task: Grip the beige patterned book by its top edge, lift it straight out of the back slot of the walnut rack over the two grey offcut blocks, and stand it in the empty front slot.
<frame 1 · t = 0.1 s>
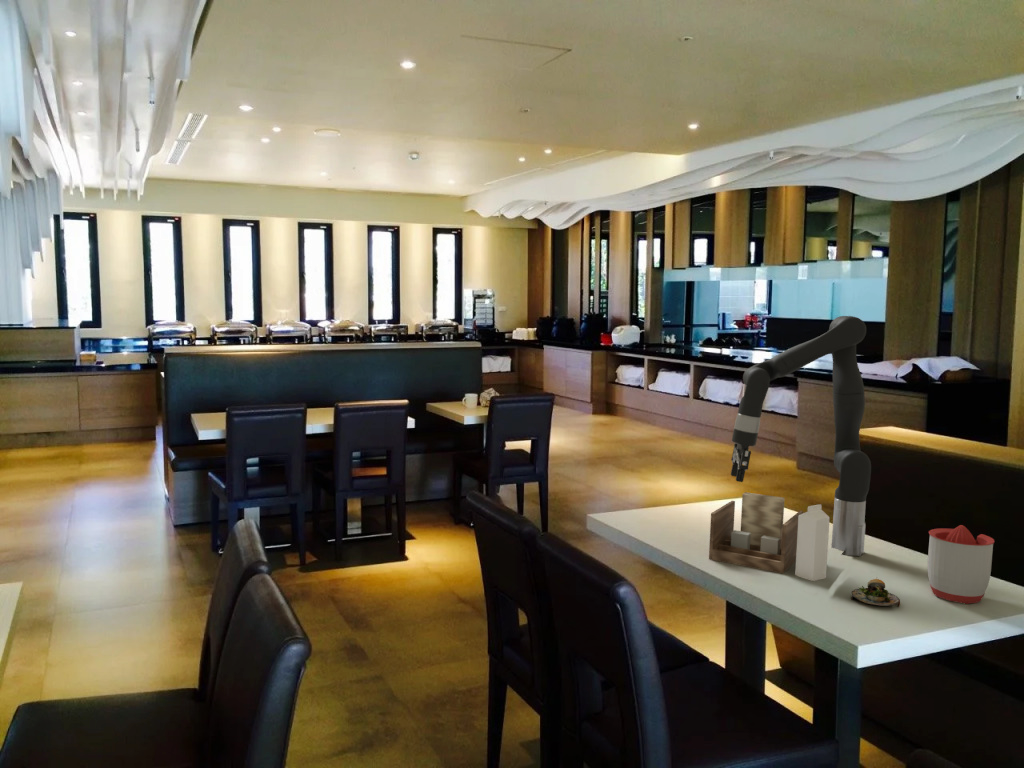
hand: (736, 478, 261), 22 cm above the table, tool pointing down, fingers open, 8 cm apart
citrus juicer: (957, 596, 222), on the table
milk: (810, 582, 231), on the table
offcut b: (739, 555, 249), point 1 cm above the table, touching rack
offcut a: (769, 560, 245), point 1 cm above the table, touching rack
rack: (754, 562, 248), on the table
burger: (875, 603, 217), on the table
beige patterned book: (760, 553, 252), point 1 cm above the table, touching rack
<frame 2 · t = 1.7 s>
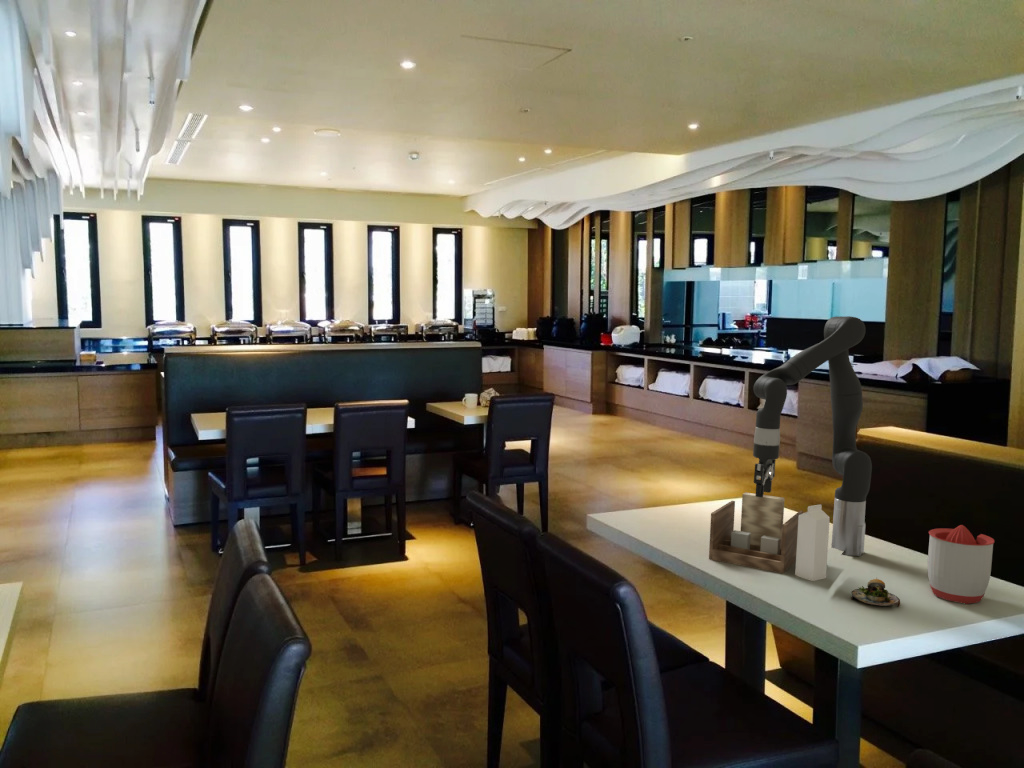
hand: (763, 494, 250), 20 cm above the table, tool pointing down, fingers open, 8 cm apart
nothing on the table moved.
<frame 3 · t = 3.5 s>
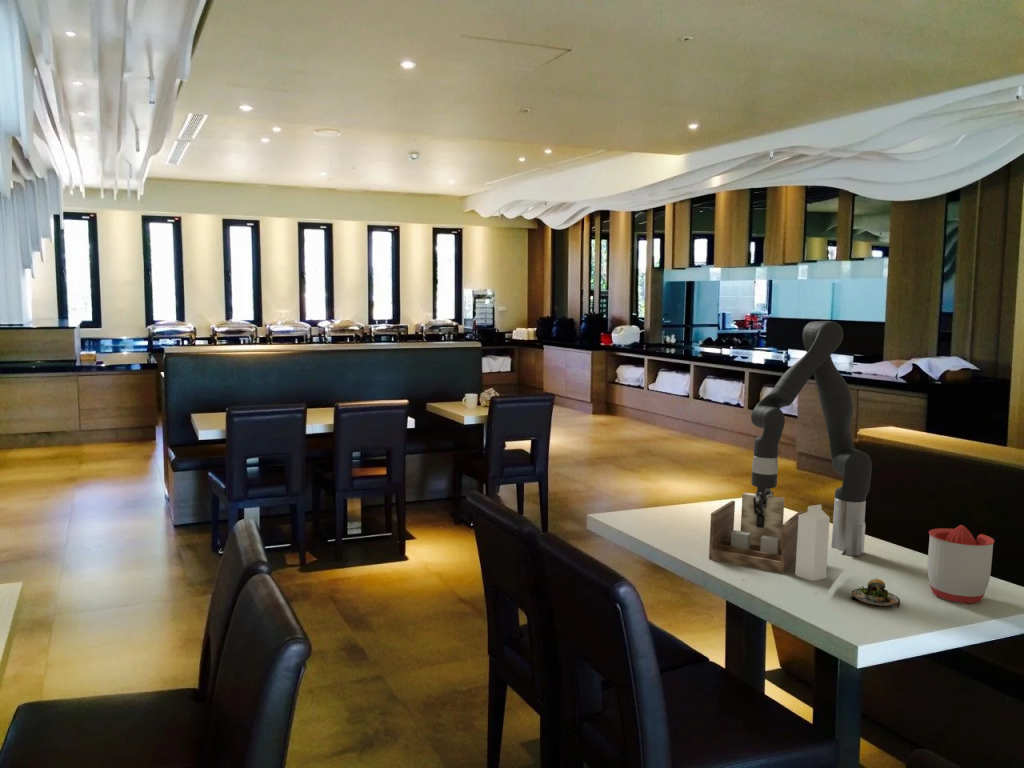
hand: (761, 525, 251), 10 cm above the table, tool pointing down, fingers closed on beige patterned book, 3 cm apart
beige patterned book: (760, 553, 252), point 2 cm above the table, touching gripper, rack
everything else where it was.
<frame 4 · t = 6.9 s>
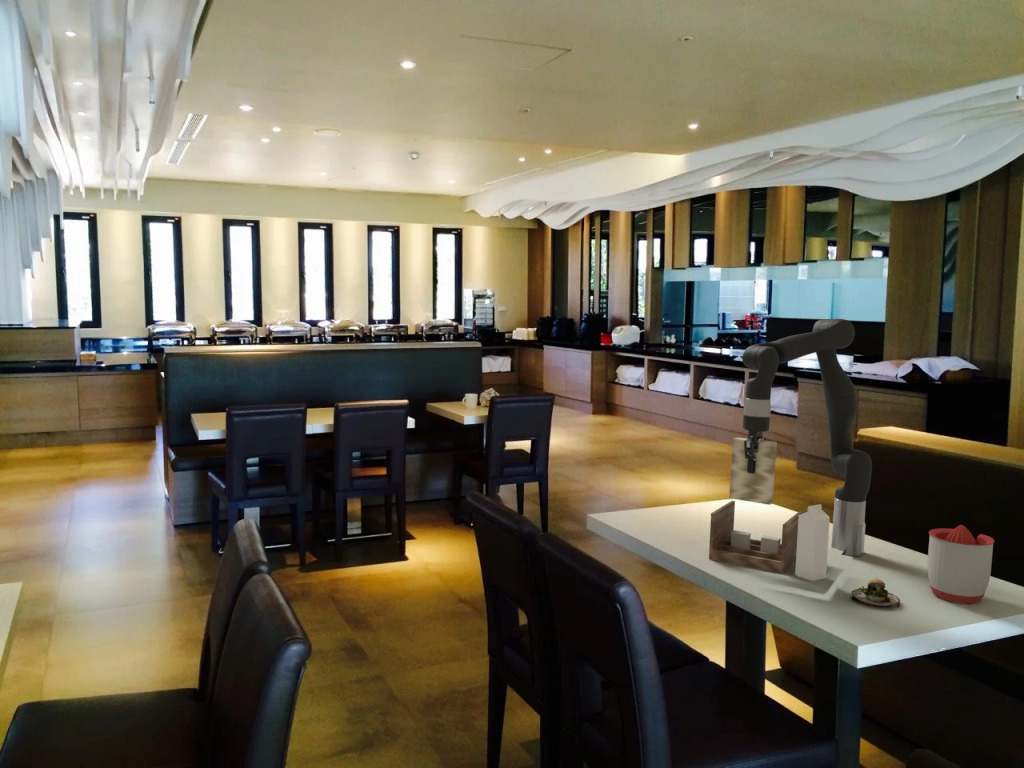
hand: (752, 471, 240), 29 cm above the table, tool pointing down, fingers closed on beige patterned book, 3 cm apart
beige patterned book: (750, 500, 241), point 20 cm above the table, touching gripper
everything else where it was.
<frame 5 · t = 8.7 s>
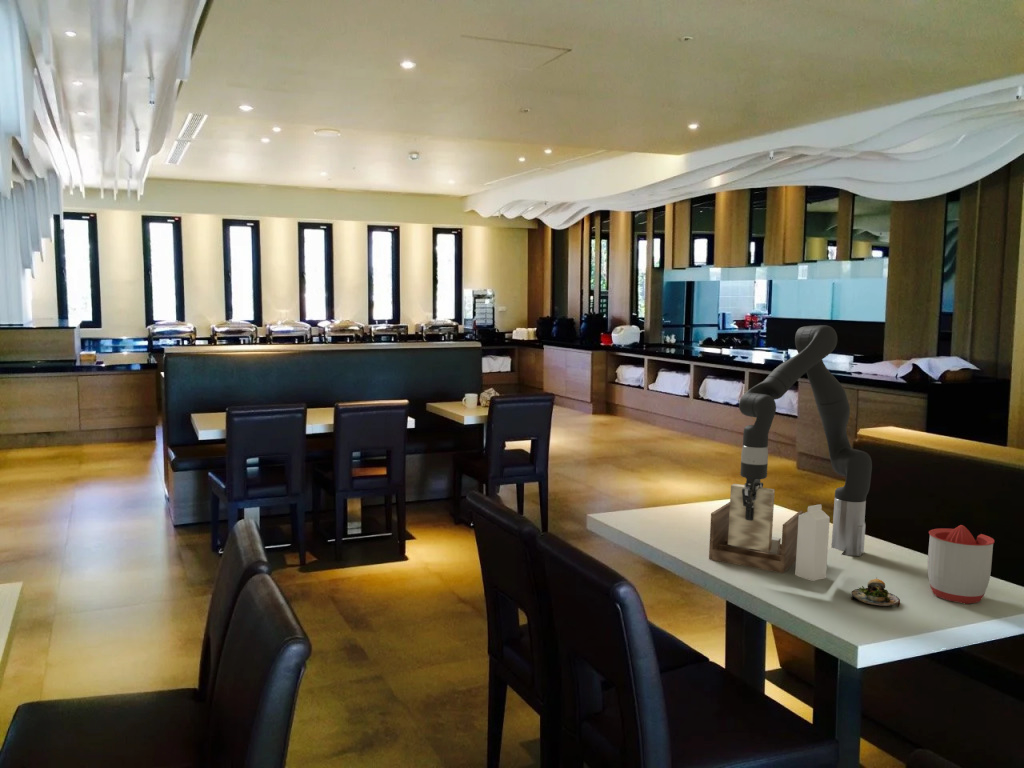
hand: (751, 518, 241), 15 cm above the table, tool pointing down, fingers closed on beige patterned book, 3 cm apart
beige patterned book: (749, 546, 242), point 6 cm above the table, touching gripper
everything else where it was.
when the fingers open (12 cm above the table, at t = 10.0 s): beige patterned book drops 1 cm, resting on rack.
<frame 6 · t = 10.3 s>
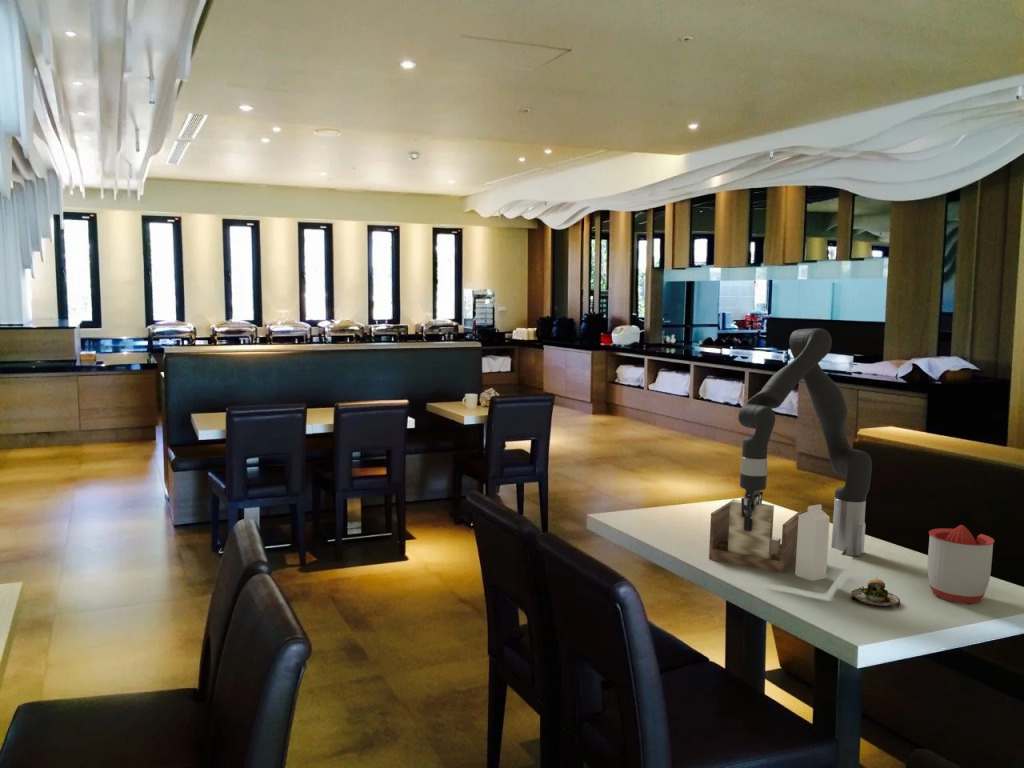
hand: (750, 528, 241), 12 cm above the table, tool pointing down, fingers open, 5 cm apart
beige patterned book: (748, 562, 242), point 1 cm above the table, touching rack
everything else where it was.
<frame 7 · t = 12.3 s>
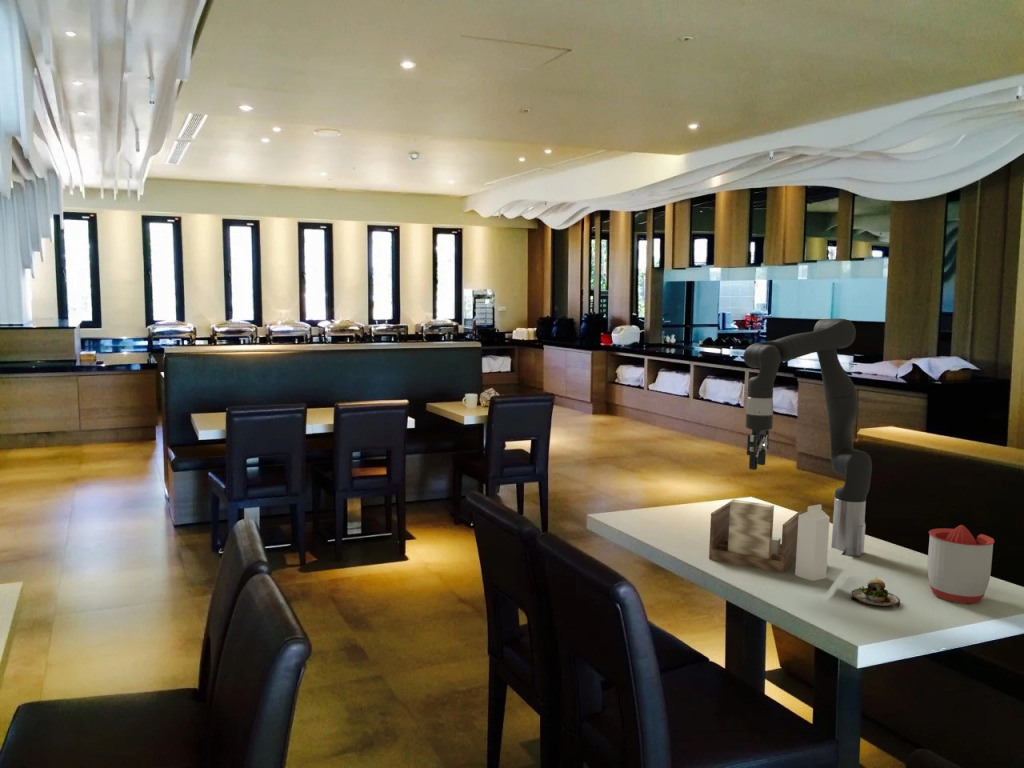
hand: (757, 467, 240), 30 cm above the table, tool pointing down, fingers open, 8 cm apart
nothing on the table moved.
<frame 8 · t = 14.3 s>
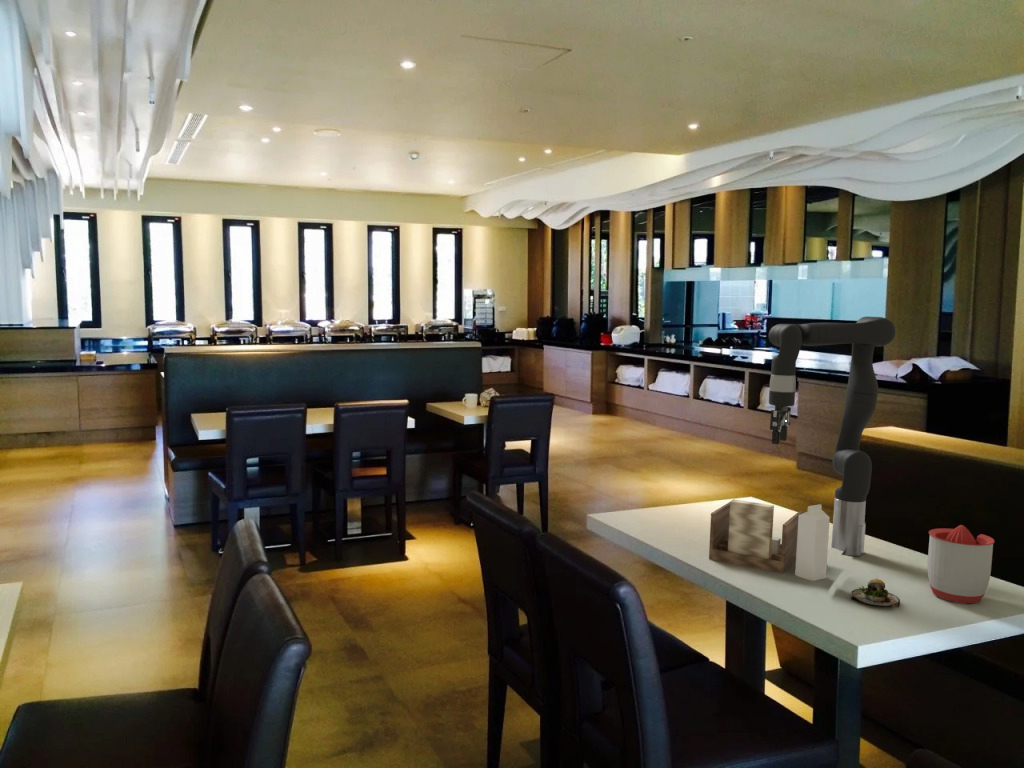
hand: (779, 442, 250), 36 cm above the table, tool pointing down, fingers open, 8 cm apart
nothing on the table moved.
at the end: beige patterned book inside the target area on the rack (0.0 cm from its centre), point 1.5 cm above the rack's base; beige patterned book tilted 0°; the gripper is holding nothing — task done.
